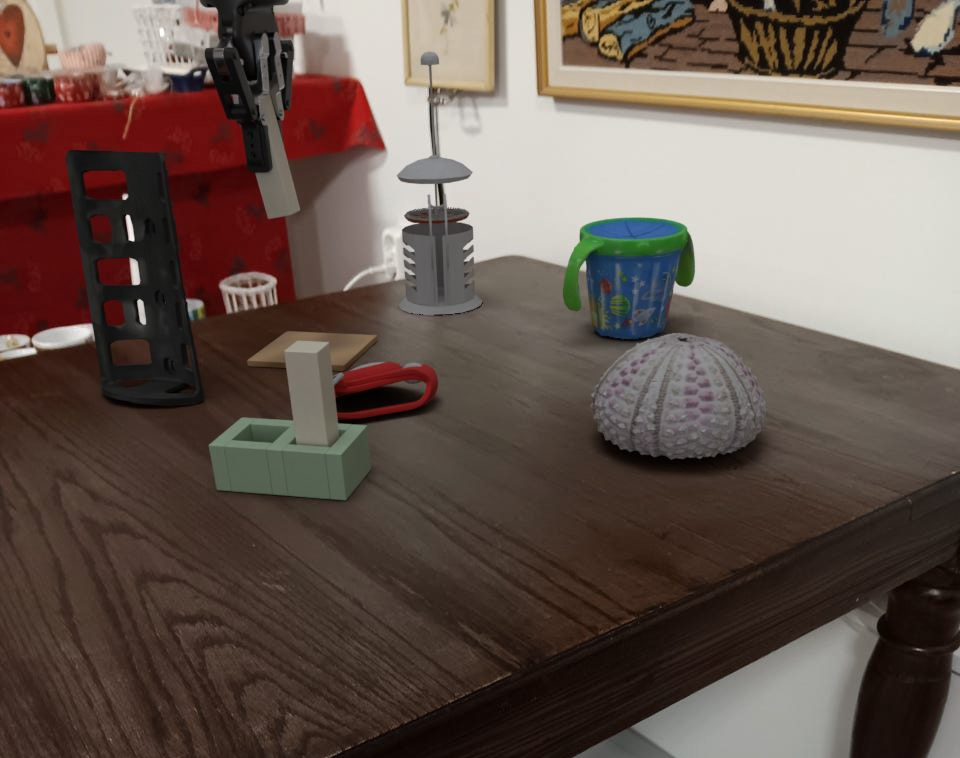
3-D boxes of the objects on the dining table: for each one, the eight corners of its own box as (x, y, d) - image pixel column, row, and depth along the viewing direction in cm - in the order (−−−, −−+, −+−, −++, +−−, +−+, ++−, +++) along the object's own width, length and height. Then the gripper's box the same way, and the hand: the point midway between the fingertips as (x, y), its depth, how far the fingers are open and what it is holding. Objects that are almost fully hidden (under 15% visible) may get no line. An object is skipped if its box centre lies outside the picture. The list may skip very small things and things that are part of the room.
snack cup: (591, 357, 96) (595, 246, 90) (537, 330, 104) (537, 227, 98) (720, 332, 102) (731, 226, 96) (660, 309, 110) (667, 210, 104)
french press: (480, 291, 118) (474, 47, 104) (487, 318, 108) (482, 53, 95) (398, 294, 118) (381, 50, 104) (397, 322, 108) (379, 56, 94)
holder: (76, 401, 88) (32, 150, 79) (123, 381, 95) (87, 148, 85) (189, 410, 86) (157, 153, 77) (229, 389, 92) (204, 151, 83)
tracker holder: (336, 370, 91) (439, 346, 88) (349, 418, 92) (451, 396, 89) (286, 383, 80) (402, 355, 77) (301, 437, 81) (416, 412, 78)
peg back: (267, 219, 92) (234, 98, 87) (278, 214, 94) (245, 96, 89) (291, 215, 91) (258, 93, 86) (300, 210, 93) (269, 91, 88)
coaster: (247, 366, 96) (246, 360, 96) (287, 336, 104) (286, 330, 104) (344, 371, 94) (344, 365, 94) (377, 340, 102) (377, 334, 102)
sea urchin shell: (563, 423, 81) (566, 324, 77) (709, 401, 85) (719, 305, 81) (637, 486, 71) (644, 375, 66) (799, 457, 74) (817, 350, 70)
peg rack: (216, 490, 72) (208, 445, 70) (248, 460, 77) (241, 417, 75) (346, 500, 70) (341, 454, 68) (371, 469, 75) (367, 424, 73)
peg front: (301, 487, 72) (283, 350, 67) (313, 474, 74) (296, 340, 69) (332, 489, 72) (316, 352, 66) (344, 476, 74) (329, 341, 68)
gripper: (231, -58, 88) (260, 158, 97) (153, -64, 76) (194, 181, 86) (310, -61, 86) (332, 158, 96) (242, -68, 75) (275, 182, 84)
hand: (267, 168), depth 91 cm, fingers closed on peg back, 2 cm apart
